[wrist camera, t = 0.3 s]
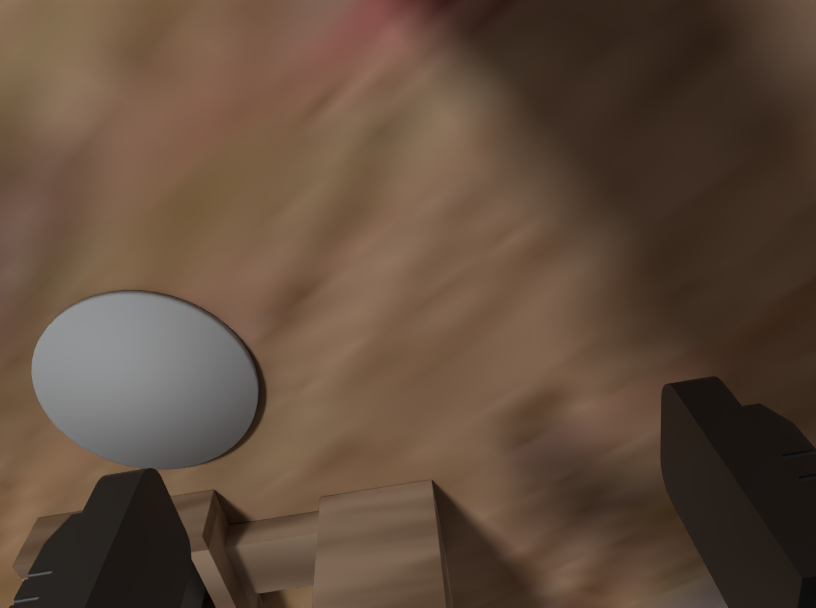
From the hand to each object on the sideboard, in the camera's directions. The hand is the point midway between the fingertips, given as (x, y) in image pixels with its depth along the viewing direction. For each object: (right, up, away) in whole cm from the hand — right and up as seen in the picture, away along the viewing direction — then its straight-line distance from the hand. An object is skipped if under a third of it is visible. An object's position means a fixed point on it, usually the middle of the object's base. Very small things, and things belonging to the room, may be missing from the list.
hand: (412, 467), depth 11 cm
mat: (-12, -1, +21) cm, 24 cm away
